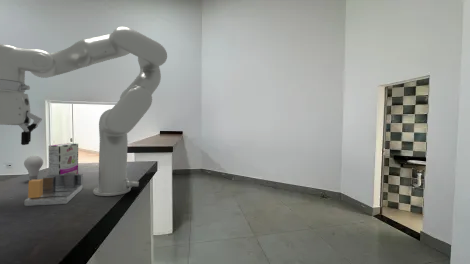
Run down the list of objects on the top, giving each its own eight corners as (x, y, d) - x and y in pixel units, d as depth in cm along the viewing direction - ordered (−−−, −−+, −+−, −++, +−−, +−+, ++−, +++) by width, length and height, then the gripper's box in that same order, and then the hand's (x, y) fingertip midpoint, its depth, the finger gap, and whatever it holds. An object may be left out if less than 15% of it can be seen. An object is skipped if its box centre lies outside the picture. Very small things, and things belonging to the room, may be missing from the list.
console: (82, 188, 93) (83, 170, 93) (66, 203, 76) (67, 181, 76) (49, 189, 89) (49, 171, 89) (24, 206, 72) (24, 183, 72)
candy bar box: (67, 179, 105) (68, 142, 105) (78, 180, 105) (79, 143, 105) (47, 186, 94) (47, 145, 93) (59, 186, 94) (60, 145, 93)
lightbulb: (21, 183, 95) (21, 156, 95) (27, 180, 101) (27, 154, 101) (39, 182, 98) (40, 156, 97) (44, 179, 103) (45, 154, 103)
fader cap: (42, 195, 76) (42, 179, 76) (39, 197, 74) (39, 180, 74) (32, 195, 75) (32, 179, 75) (28, 197, 73) (28, 181, 73)
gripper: (47, 91, 78) (45, 143, 78) (-21, 86, 72) (-23, 142, 72) (36, 88, 71) (34, 146, 71) (-40, 82, 65) (-42, 144, 65)
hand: (5, 144), depth 72 cm, fingers open, 9 cm apart
